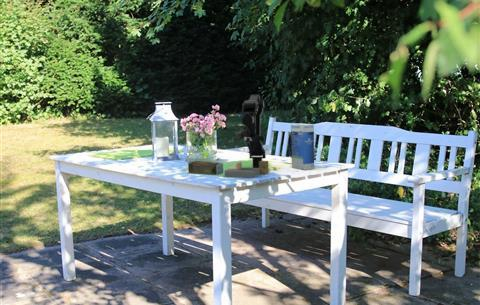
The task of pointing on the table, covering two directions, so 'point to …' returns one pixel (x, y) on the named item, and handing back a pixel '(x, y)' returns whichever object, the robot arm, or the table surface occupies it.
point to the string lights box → (302, 146)
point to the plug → (263, 167)
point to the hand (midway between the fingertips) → (251, 153)
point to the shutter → (238, 166)
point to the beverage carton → (205, 167)
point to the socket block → (243, 173)
